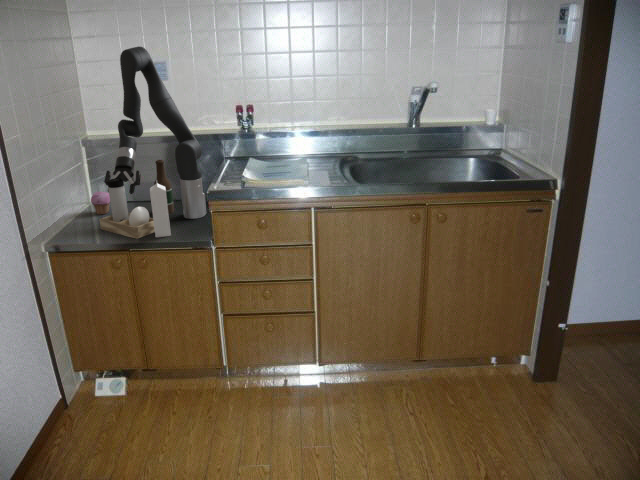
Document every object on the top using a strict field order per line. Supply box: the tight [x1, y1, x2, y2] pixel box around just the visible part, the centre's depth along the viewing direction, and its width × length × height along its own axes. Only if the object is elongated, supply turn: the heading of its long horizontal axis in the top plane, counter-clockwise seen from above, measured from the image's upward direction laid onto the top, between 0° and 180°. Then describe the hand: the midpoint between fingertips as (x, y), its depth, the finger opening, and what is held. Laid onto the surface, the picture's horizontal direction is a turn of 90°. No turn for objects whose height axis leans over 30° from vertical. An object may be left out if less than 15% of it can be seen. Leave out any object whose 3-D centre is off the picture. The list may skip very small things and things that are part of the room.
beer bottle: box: [153, 159, 175, 215], centre depth 243 cm, size 8×8×24 cm
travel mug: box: [107, 178, 129, 223], centre depth 225 cm, size 6×7×20 cm
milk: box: [149, 183, 172, 238], centre depth 216 cm, size 6×6×22 cm
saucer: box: [129, 206, 150, 227], centre depth 221 cm, size 10×1×10 cm, turn 148°
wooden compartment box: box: [98, 212, 155, 240], centre depth 225 cm, size 12×22×4 cm, turn 58°
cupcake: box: [90, 191, 111, 215], centre depth 246 cm, size 9×9×10 cm
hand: (120, 193), depth 227 cm, fingers open, 8 cm apart
